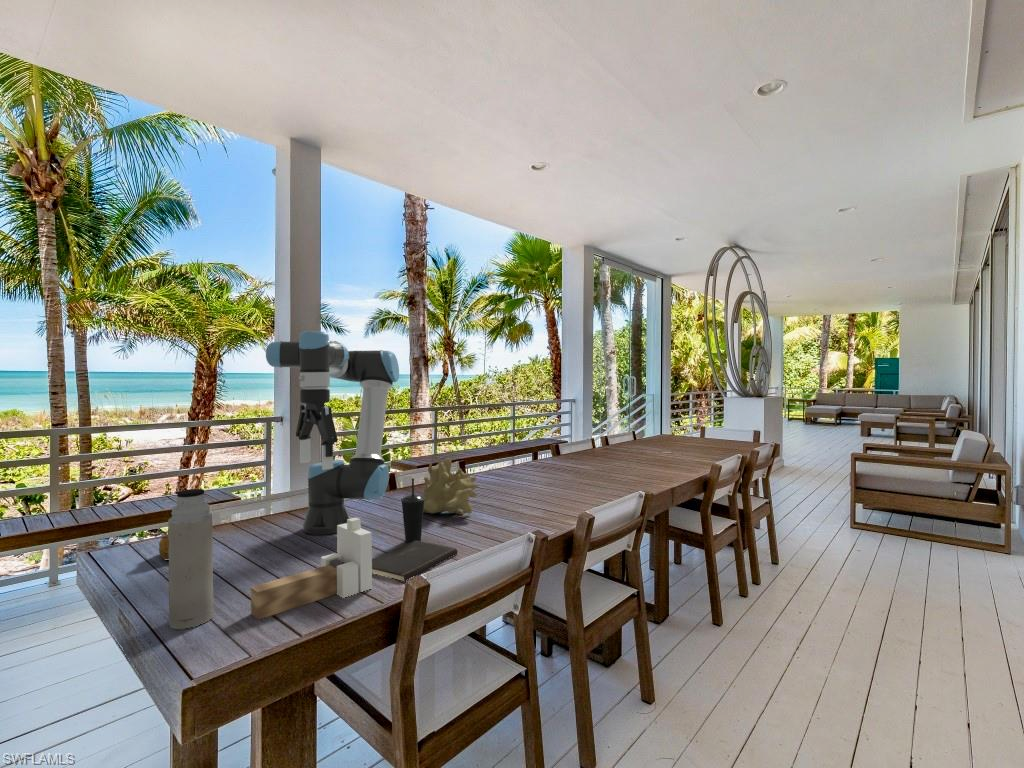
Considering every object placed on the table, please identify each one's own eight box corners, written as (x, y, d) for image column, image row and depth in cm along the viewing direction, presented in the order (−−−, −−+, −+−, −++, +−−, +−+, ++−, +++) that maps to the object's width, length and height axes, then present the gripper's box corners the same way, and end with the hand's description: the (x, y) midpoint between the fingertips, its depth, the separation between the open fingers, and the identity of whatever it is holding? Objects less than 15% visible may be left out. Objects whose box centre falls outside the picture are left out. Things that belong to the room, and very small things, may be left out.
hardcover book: (359, 573, 133) (359, 564, 133) (415, 547, 154) (415, 540, 154) (404, 584, 126) (404, 575, 126) (457, 556, 146) (457, 548, 146)
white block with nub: (320, 584, 125) (320, 519, 125) (348, 575, 130) (347, 513, 130) (343, 599, 116) (342, 529, 116) (372, 589, 122) (371, 522, 122)
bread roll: (157, 553, 148) (157, 527, 147) (196, 546, 153) (195, 521, 153) (159, 566, 137) (159, 537, 137) (200, 558, 143) (200, 531, 143)
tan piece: (257, 620, 106) (257, 587, 106) (251, 613, 109) (250, 582, 109) (344, 591, 121) (344, 562, 121) (337, 586, 124) (336, 558, 123)
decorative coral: (410, 476, 204) (455, 439, 199) (445, 513, 208) (490, 478, 203) (393, 506, 179) (444, 465, 174) (434, 547, 183) (485, 508, 178)
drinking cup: (420, 545, 153) (419, 481, 153) (397, 544, 155) (396, 480, 155) (429, 538, 161) (428, 476, 161) (407, 536, 162) (406, 475, 162)
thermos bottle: (160, 630, 102) (159, 495, 102) (183, 612, 110) (181, 486, 110) (201, 628, 103) (199, 494, 102) (220, 610, 111) (219, 486, 110)
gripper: (282, 387, 141) (283, 461, 141) (322, 389, 124) (323, 474, 124) (308, 387, 146) (309, 458, 147) (350, 388, 129) (351, 469, 130)
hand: (316, 465), depth 136 cm, fingers open, 13 cm apart
